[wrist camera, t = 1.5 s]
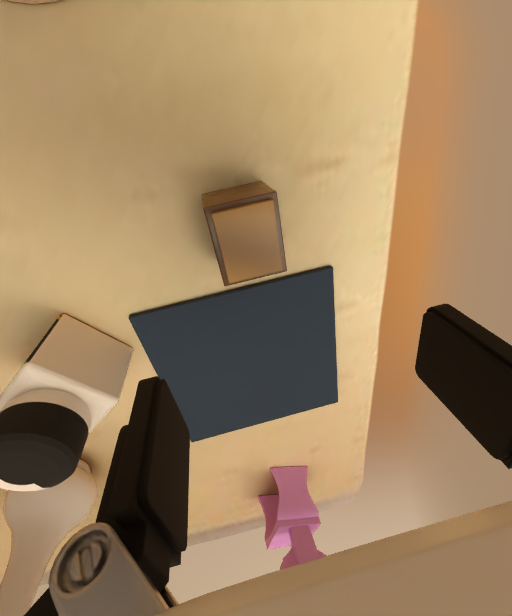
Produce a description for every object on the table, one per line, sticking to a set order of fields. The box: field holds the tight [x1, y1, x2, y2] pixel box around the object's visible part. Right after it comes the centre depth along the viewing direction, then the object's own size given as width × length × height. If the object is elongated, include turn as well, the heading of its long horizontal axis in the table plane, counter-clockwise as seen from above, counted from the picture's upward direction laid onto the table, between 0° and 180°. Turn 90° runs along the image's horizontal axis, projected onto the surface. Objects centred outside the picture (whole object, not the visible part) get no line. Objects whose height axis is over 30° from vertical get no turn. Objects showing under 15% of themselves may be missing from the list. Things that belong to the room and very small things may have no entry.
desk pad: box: [129, 266, 338, 442], centre depth 33 cm, size 20×20×1 cm
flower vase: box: [0, 459, 98, 616], centre depth 27 cm, size 13×18×25 cm
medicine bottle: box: [0, 314, 133, 491], centre depth 24 cm, size 7×7×12 cm
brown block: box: [202, 181, 287, 286], centre depth 23 cm, size 6×5×6 cm
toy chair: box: [258, 466, 327, 570], centre depth 42 cm, size 8×9×15 cm
